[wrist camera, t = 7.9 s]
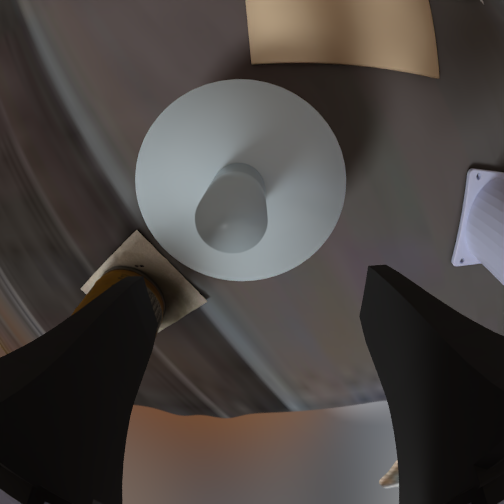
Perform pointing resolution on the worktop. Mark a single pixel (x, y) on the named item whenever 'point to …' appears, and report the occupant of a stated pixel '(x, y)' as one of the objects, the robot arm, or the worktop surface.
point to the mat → (344, 33)
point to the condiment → (146, 280)
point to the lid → (240, 180)
